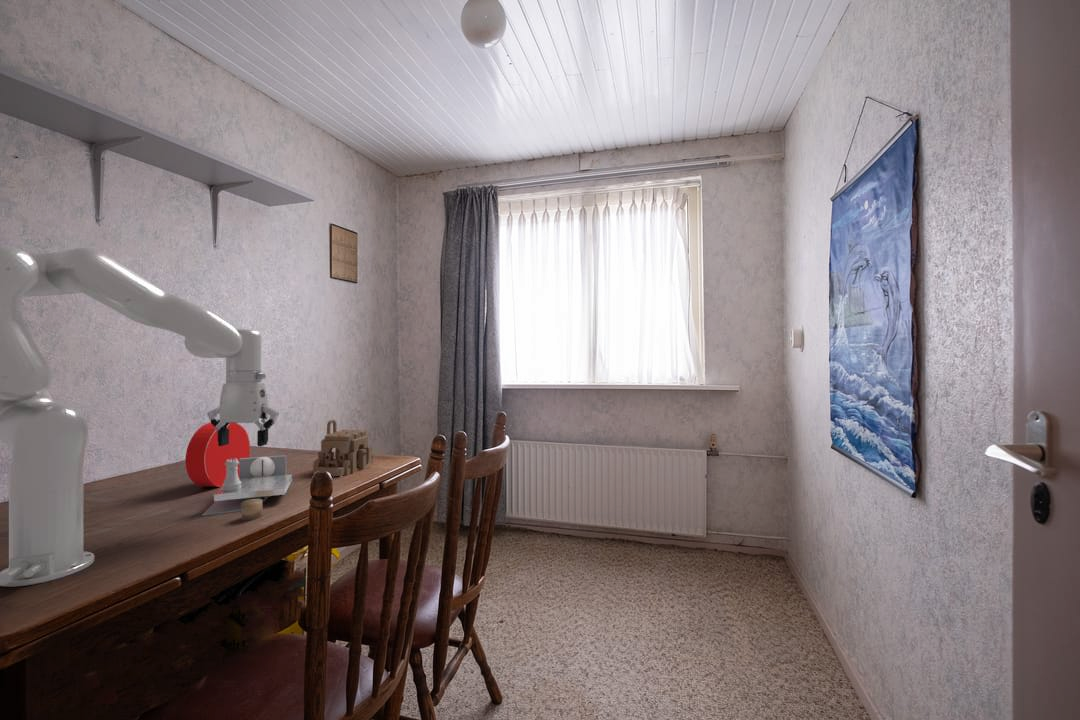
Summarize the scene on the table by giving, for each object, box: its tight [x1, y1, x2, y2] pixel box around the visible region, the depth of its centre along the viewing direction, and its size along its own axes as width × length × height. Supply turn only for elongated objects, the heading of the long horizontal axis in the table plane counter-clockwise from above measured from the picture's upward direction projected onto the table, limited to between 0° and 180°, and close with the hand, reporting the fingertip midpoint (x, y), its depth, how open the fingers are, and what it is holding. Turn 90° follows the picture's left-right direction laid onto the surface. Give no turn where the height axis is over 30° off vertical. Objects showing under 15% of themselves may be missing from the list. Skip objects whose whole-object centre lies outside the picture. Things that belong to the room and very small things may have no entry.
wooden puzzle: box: [312, 419, 375, 478], centre depth 162 cm, size 22×15×19 cm, turn 173°
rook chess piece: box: [221, 459, 242, 492], centre depth 123 cm, size 4×4×8 cm
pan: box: [213, 474, 293, 502], centre depth 128 cm, size 16×16×4 cm
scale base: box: [201, 455, 287, 517], centre depth 129 cm, size 21×20×11 cm
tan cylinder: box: [240, 499, 264, 522], centre depth 113 cm, size 4×4×5 cm
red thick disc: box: [185, 421, 251, 488], centre depth 145 cm, size 20×6×20 cm, turn 178°
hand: (243, 445), depth 117 cm, fingers open, 9 cm apart
